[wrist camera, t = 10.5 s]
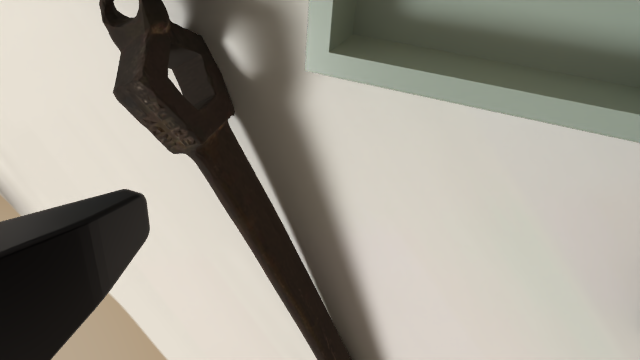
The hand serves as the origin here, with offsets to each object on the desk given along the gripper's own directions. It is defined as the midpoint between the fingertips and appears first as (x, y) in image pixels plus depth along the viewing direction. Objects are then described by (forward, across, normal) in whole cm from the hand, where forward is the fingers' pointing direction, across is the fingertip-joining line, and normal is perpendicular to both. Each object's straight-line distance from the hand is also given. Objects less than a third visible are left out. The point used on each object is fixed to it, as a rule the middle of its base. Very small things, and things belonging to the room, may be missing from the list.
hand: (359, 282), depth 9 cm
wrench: (+13, +7, +12) cm, 19 cm away
